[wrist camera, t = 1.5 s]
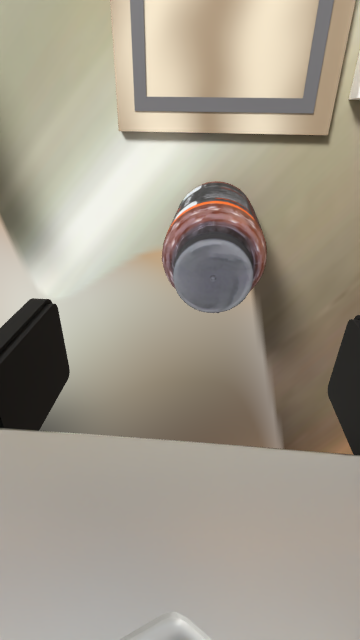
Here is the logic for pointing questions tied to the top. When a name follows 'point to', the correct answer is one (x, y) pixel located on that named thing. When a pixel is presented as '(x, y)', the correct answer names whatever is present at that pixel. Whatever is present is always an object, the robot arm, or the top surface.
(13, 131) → the top surface
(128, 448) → the robot arm
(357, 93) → the ink pad
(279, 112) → the marked board
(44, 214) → the top surface
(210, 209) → the supplement bottle
